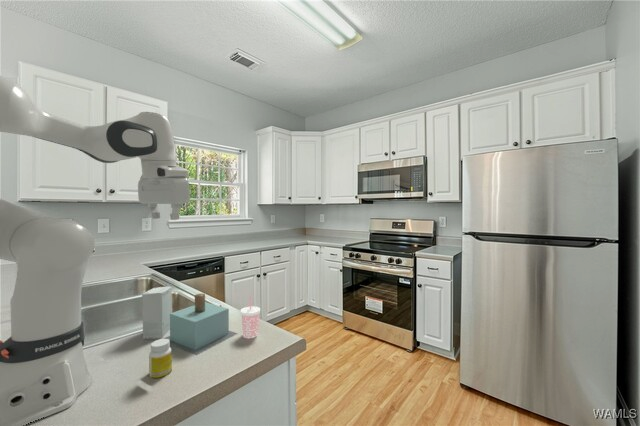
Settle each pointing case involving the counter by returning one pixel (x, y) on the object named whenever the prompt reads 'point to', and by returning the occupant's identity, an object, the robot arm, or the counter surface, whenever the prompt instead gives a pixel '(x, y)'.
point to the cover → (199, 324)
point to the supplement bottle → (160, 359)
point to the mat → (203, 346)
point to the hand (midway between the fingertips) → (165, 219)
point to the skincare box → (156, 312)
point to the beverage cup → (250, 321)
